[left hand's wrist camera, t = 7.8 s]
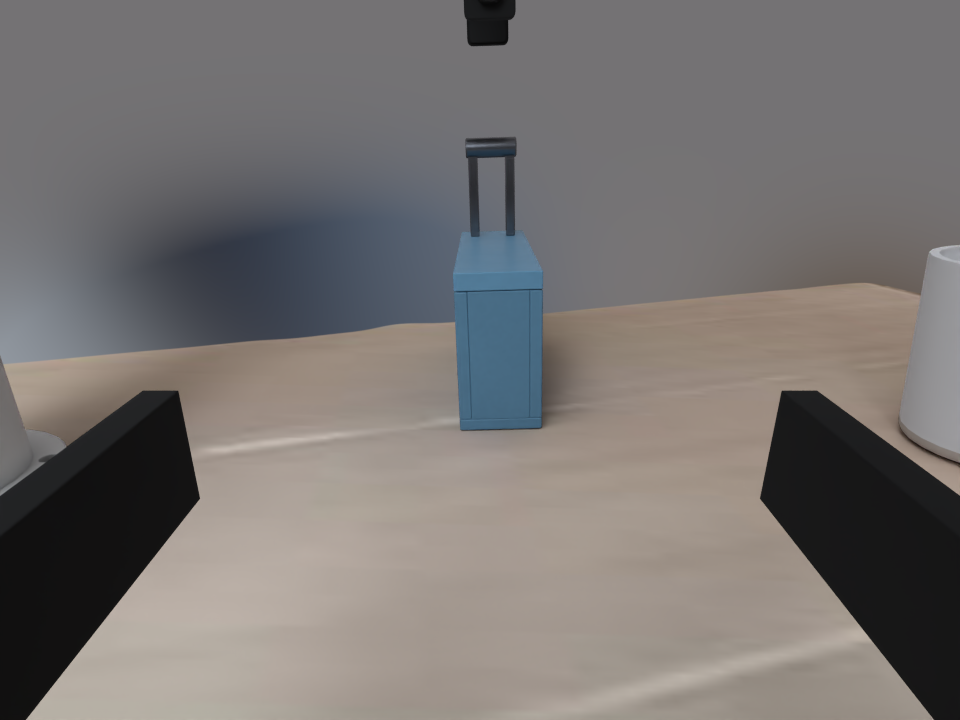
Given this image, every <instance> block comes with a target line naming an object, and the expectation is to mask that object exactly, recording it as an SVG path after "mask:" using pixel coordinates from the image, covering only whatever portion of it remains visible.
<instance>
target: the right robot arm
mask: <svg viewBox="0 0 960 720" xmlns="http://www.w3.org/2000/svg"><path fill="white" fill-rule="evenodd" d="M464 14H465V18H466V19H467V39H468V44H469V45H470V46H494V45H505V44H506V43H507V42H508V20H510V19H512V18H513V17H514V15H515V0H464ZM64 448H66V444H65V442H64V441H63V440H61V439H60V438H59V437H58V436H55V435H52V434H49V433H47V432H42V431H36V430H25V428H24V425H23V422H22V419H21V416H20V413H19V410H18V407H17V404H16V401H15V398H14V395H13V392H12V389H11V387H10V384H9V381H8V378H7V375H6V372H5V369H4V366H3V363H2V360H1V357H0V496H1V495H2V494H3V493H5V492H6V491H7V490H9V489H10V488H11V487H13V486H14V485H15V484H17V483H18V482H20V481H21V480H22V479H24V478H25V477H26V476H28V475H29V474H30V473H32V472H33V471H35V470H36V469H37V468H39V467H40V466H41V465H43V464H44V463H45V462H47V461H48V460H49V459H51V458H52V457H54V456H55V455H56V454H58V453H59V452H60V451H62V450H63V449H64Z"/></svg>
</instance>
